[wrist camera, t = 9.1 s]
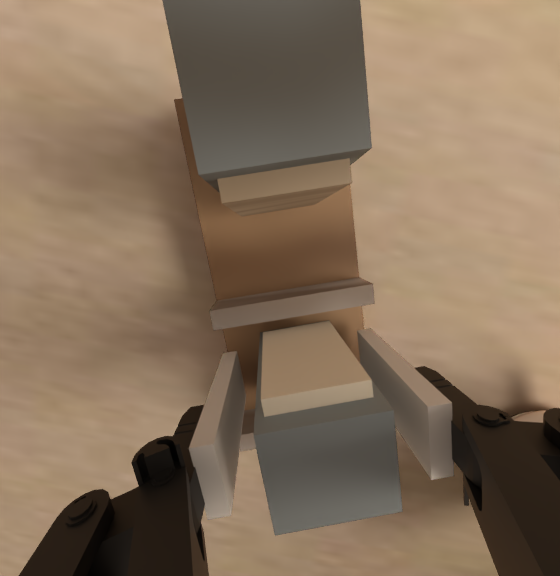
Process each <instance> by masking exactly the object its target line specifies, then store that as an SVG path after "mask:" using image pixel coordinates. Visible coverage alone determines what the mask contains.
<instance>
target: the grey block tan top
mask: <svg viewBox="0 0 560 576" xmlns="http://www.w3.org/2000/svg"><path fill="white" fill-rule="evenodd" d="M253 436H254V440H255V445H256V450H257V454H258V459H259V464H260V468H261V473H262V478H263V482H264V487H265V491H266V496H267V501H268V505H269V510H270V515H271V519H272V524H273V529H274V533H275V535H281V534H286V533H291V532H297V531H302V530H308V529H313V528H318V527H324V526H329V525H334V524H340V523H345V522H350V521H356V520H361V519H366V518H372V517H377V516H382V515H388V514H393V513H399V512H403V511H402V500H401V488H400V477H399V465H398V454H397V443H396V431H395V420H394V410H393V409H392V407H391V406H390V404H389V403H388V402H387V400H386V399H385V397H384V396H383V395H382V393H381V392H380V391H379V389H378V388H377V386H376V385H375V384H374V382H373V381H372V379H371V378H370V377H369V375H368V374H367V372H366V371H365V370H364V368H363V367H362V365H361V364H360V363H359V361H358V360H357V359H356V357H355V356H354V354H353V353H352V352H351V350H350V349H349V347H348V346H347V345H346V343H345V342H344V340H343V339H342V338H341V336H340V335H339V333H338V332H337V331H336V329H335V328H334V327H333V325H332V324H331V322H330V321H329V320H327V321H321V322H316V323H310V324H304V325H298V326H293V327H287V328H281V329H276V330H270V331H264V332H260V340H259V356H258V372H257V388H256V403H255V419H254V435H253Z"/></svg>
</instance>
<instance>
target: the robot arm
mask: <svg viewBox="0 0 560 576" xmlns="http://www.w3.org/2000/svg"><path fill="white" fill-rule="evenodd" d="M357 336H358V346H359V355H360V364H361V365H362V367H363V368H364V370H365V371H366V372H367V374H368V375H369V377H370V378H371V379H372V381H373V382H374V384H375V385H376V386H377V388H378V389H379V391H380V392H381V393H382V395H383V396H384V397H385V399H386V400H387V402H388V403H389V404H390V406H391V407H392V409H393V410H394V420H395V426H396V428H397V429H398V431H399V432H400V434H401V435H402V437H403V438H404V440H405V441H406V443H407V444H408V446H409V447H410V449H411V450H412V452H413V453H414V455H415V456H416V458H417V459H418V461H419V462H420V464H421V465H422V467H423V468H424V470H425V471H426V473H427V474H428V476H429V477H430V479H431V480H435V479H440V478H446V477H451V476H454V462H455V463H456V464H457V465H458V467H459V468H460V469H461V470H462V471H463V491H464V505H466V506H469V499H470V502H471V505H472V507H473V510H474V512H475V515H476V517H477V520H478V523H479V525H480V528H481V530H482V533H483V536H484V538H485V541H486V543H487V546H488V549H489V551H490V554H491V556H492V559H493V562H494V564H495V567H496V569H497V572H498V574H499V576H560V408H553V409H549V410H546V412H545V413H544V414H543V423H539V422H523V421H514V420H513V419H512V418H511V417H510V416H509V415H508V414H506V413H504V412H502V411H501V410H499V409H496V408H493V407H490V406H483V405H477V404H476V403H475V402H473V401H472V400H471V399H470V398H468V397H467V396H466V395H465V394H464V393H462V392H461V391H460V390H459V389H457V388H456V387H455V386H453V385H452V384H451V383H450V382H449V381H448V380H445V378H444V377H443V376H441V375H440V374H439V373H438V372H436V371H434V370H432V369H430V368H427V367H425V366H423V367H417V368H413V367H412V366H411V365H410V364H409V363H408V362H407V361H406V360H405V359H404V358H403V357H401V356H400V355H399V354H398V353H397V352H396V351H395V350H394V349H393V348H392V347H390V346H389V345H388V344H387V343H386V342H385V341H384V340H383V339H382V338H381V337H380V336H378V335H377V334H376V333H375V332H374V331H373V330H372V329H371V328H370V329H364V330H358V331H357ZM245 400H246V393H245V388H244V383H243V378H242V373H241V368H240V363H239V358H238V353H237V351H233V352H227V353H223V355H222V357H221V360H220V363H219V366H218V369H217V371H216V374H215V377H214V380H213V382H212V385H211V388H210V391H209V394H208V396H207V399H206V402H205V405H200V406H194V407H190V408H189V409H188V410H187V412H186V413H185V414H184V415H183V416H182V418H181V420H180V422H179V424H178V427H177V429H176V431H175V433H174V435H173V436H164V437H161V438H157V439H155V440H153V441H151V442H149V443H147V444H146V445H145V446H143V447H142V448H141V449H140V450H139V451H138V452H137V453H136V455H135V456H134V458H133V460H132V466H133V469H134V472H135V475H136V478H137V481H138V485H139V487H137V488H135V489H133V490H131V491H129V492H127V493H124V494H122V495H120V496H118V497H115V498H113V499H110V496H109V494H108V492H107V491H105V490H103V489H100V490H93V491H91V492H88V493H85V494H84V495H82V496H80V497H79V498H77V499H75V500H74V501H73V502H72V503H70V504H69V505H68V506H67V507H66V508H65V509H64V510H63V511H62V512H61V513H60V515H59V516H58V517H57V518H56V520H55V521H54V523H53V524H52V526H51V527H50V529H49V530H48V532H47V533H46V535H45V536H44V538H43V540H42V541H41V543H40V544H39V546H38V547H37V549H36V550H35V552H34V553H33V555H32V556H31V558H30V559H29V561H28V563H27V564H26V566H25V567H24V569H23V570H22V572H21V573H20V575H19V576H209V573H208V565H207V556H206V548H205V539H204V532H203V528H202V524H201V519H202V515H203V510H204V508H205V511H206V515H207V519H208V520H210V519H216V518H221V517H227V516H231V513H232V505H233V497H234V489H235V481H236V473H237V465H238V456H239V448H240V440H241V432H242V424H243V416H244V408H245Z"/></svg>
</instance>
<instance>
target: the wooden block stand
mask: <svg viewBox="0 0 560 576" xmlns="http://www.w3.org/2000/svg"><path fill="white" fill-rule="evenodd" d="M163 5H164V10H165V15H166V20H167V25H168V29H169V34H170V39H171V44H172V49H173V54H174V59H175V63H176V68H177V73H178V78H179V83H180V88H181V92H182V97H183V98H182V99H175V100H174V102H175V107H176V111H177V116H178V121H179V125H180V130H181V135H182V139H183V144H184V149H185V154H186V158H187V163H188V168H189V172H190V177H191V182H192V186H193V191H194V196H195V201H196V205H197V210H198V215H199V219H200V224H201V229H202V234H203V238H204V243H205V248H206V252H207V257H208V262H209V266H210V271H211V276H212V281H213V285H214V290H215V295H216V299H217V301H216V303H215V304H214V305H213V307H212V308H211V309H210V311H209V312H210V317H211V321H212V326H213V330H220V329H223V332H224V337H225V342H226V346H227V351H228V352H233V351H237V353H238V358H239V363H240V368H241V373H242V378H243V383H244V388H245V393H246V400H245V408H244V416H243V424H242V432H241V440H240V451H246V450H252V449H256V445H255V440H254V436H253V435H254V419H255V403H256V388H257V372H258V356H259V340H260V332H264V331H270V330H276V329H281V328H287V327H293V326H298V325H304V324H310V323H316V322H321V321H327V320H329V321H330V322H331V324H332V325H333V327H334V328H335V329H336V331H337V332H338V333H339V335H340V336H341V338H342V339H343V340H344V342H345V343H346V345H347V346H348V347H349V349H350V350H351V352H352V353H353V354H354V356H355V357H356V359H357V360H358V361H359V363H360V355H359V346H358V336H357V331H358V330H364V323H363V313H362V306H364V305H370V304H375V301H374V290H373V284H372V283H370V282H368V281H366V280H364V279H361V278H359V271H358V261H357V251H356V241H355V230H354V220H353V210H352V199H351V189H350V184H351V183H352V178H351V167H350V165H351V164H352V163H354V162H355V161H356V160H357V159H359V158H360V157H361V156H362V155H364V154H365V153H366V152H367V151H368V150H370V149H371V148H372V144H371V132H370V119H369V107H368V94H367V81H366V69H365V56H364V44H363V31H362V18H361V6H360V0H163Z"/></svg>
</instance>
